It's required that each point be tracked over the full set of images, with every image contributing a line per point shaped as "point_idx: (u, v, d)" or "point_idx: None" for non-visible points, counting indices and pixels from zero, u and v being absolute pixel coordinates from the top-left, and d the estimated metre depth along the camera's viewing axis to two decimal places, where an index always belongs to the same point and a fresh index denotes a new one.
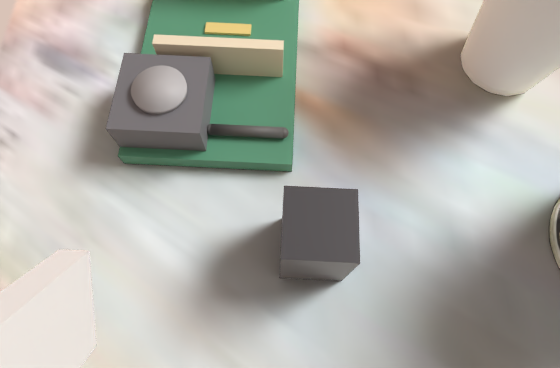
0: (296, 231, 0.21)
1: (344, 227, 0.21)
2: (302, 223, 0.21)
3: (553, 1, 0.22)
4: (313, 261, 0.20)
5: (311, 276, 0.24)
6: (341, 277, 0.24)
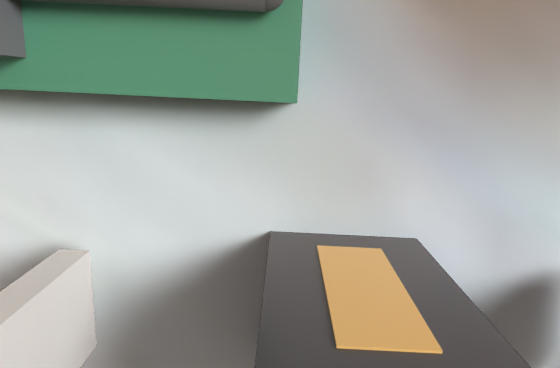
0: None
1: None
2: None
3: None
4: None
5: None
6: None
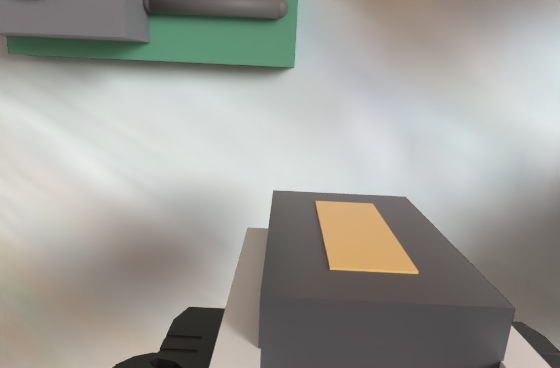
0: None
1: None
2: None
3: None
4: None
5: None
6: None
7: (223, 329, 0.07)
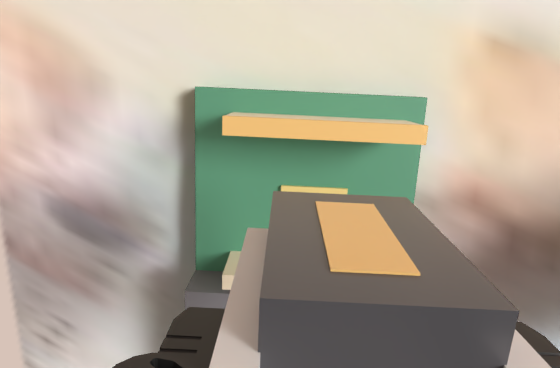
0: None
1: None
2: None
3: None
4: None
5: None
6: None
7: (223, 330, 0.07)
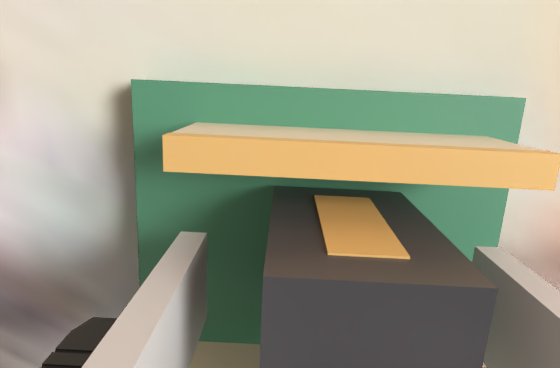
0: None
1: None
2: None
3: None
4: None
5: None
6: None
7: (102, 345, 0.06)
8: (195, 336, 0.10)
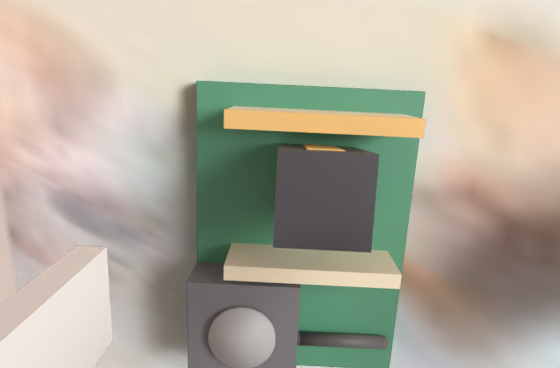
0: (292, 212, 0.16)
1: (356, 207, 0.16)
2: (301, 202, 0.16)
3: None
4: None
5: None
6: None
7: None
8: (83, 367, 0.09)
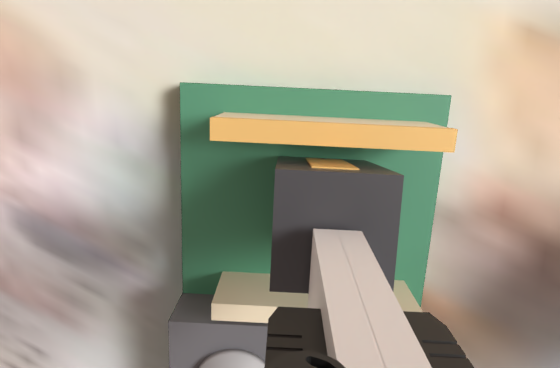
0: (294, 248, 0.13)
1: (374, 242, 0.13)
2: (304, 235, 0.13)
3: None
4: None
5: None
6: None
7: (334, 328, 0.07)
8: None
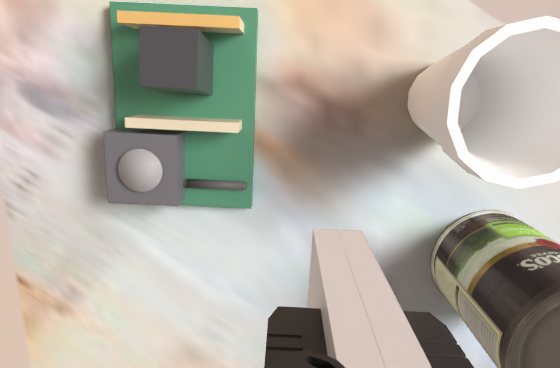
0: (150, 63, 0.27)
1: (186, 60, 0.27)
2: (154, 57, 0.27)
3: None
4: (164, 86, 0.28)
5: None
6: (206, 93, 0.32)
7: (334, 329, 0.07)
8: None
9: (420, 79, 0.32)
